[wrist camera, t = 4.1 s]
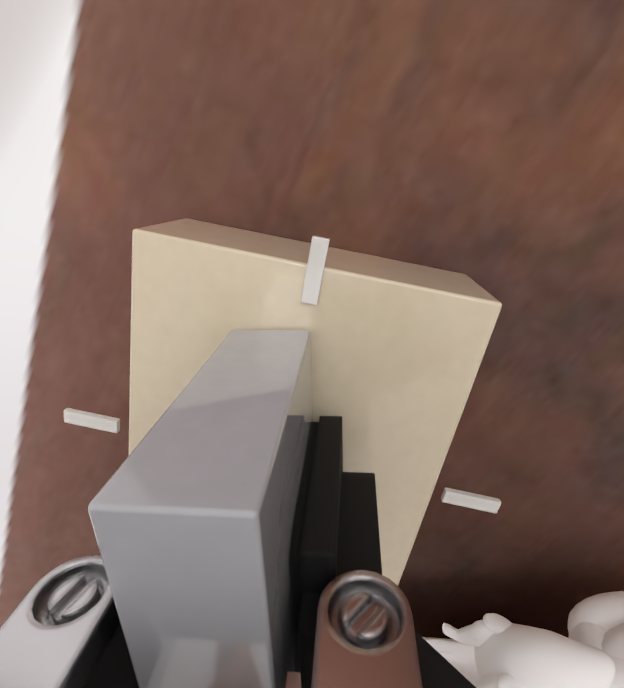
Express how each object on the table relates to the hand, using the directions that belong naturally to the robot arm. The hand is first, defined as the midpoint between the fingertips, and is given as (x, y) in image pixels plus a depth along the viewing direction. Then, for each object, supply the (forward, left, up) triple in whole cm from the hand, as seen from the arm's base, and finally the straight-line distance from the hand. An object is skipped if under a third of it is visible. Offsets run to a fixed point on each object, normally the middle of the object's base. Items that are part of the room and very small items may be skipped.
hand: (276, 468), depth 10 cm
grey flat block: (0, 0, 0) cm, 0 cm away
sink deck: (0, 0, -3) cm, 3 cm away
